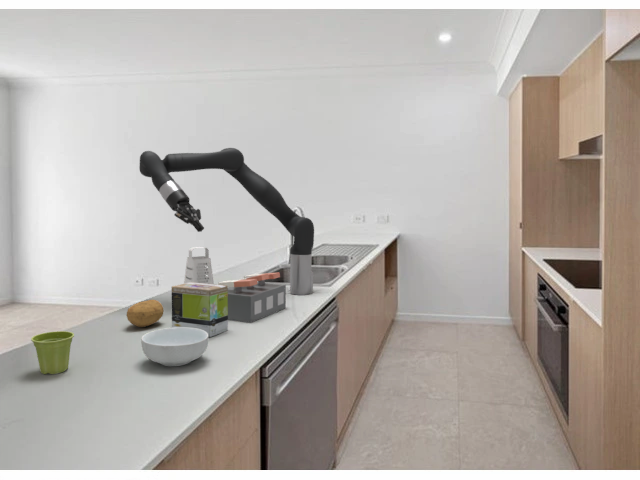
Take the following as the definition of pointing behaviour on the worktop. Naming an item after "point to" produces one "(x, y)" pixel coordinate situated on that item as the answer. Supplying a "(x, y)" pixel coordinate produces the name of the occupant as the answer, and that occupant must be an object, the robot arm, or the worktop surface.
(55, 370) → the plant pot
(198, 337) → the cereal bowl
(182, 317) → the tea box
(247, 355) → the worktop surface
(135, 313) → the potato
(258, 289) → the switch console
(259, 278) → the block
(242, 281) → the rocker
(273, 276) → the block
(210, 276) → the grater
